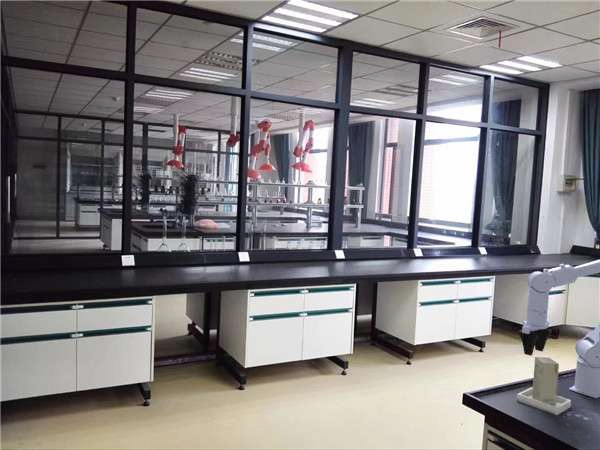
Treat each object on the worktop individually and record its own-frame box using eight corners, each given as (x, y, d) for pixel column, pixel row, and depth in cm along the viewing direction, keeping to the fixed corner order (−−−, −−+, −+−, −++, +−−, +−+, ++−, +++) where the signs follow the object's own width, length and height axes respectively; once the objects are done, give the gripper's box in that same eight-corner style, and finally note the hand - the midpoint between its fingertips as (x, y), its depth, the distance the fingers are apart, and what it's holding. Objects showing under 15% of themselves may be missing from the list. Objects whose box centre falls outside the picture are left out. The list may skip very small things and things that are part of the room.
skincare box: (556, 407, 138) (560, 364, 138) (540, 406, 139) (544, 363, 138) (546, 397, 145) (549, 356, 144) (531, 396, 145) (534, 355, 144)
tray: (531, 393, 149) (531, 387, 149) (570, 407, 140) (571, 400, 140) (516, 400, 143) (517, 394, 143) (557, 415, 134) (557, 408, 134)
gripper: (534, 305, 162) (531, 345, 163) (513, 310, 153) (510, 352, 154) (557, 309, 157) (553, 351, 158) (536, 315, 148) (533, 359, 149)
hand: (533, 352), depth 156 cm, fingers open, 7 cm apart
